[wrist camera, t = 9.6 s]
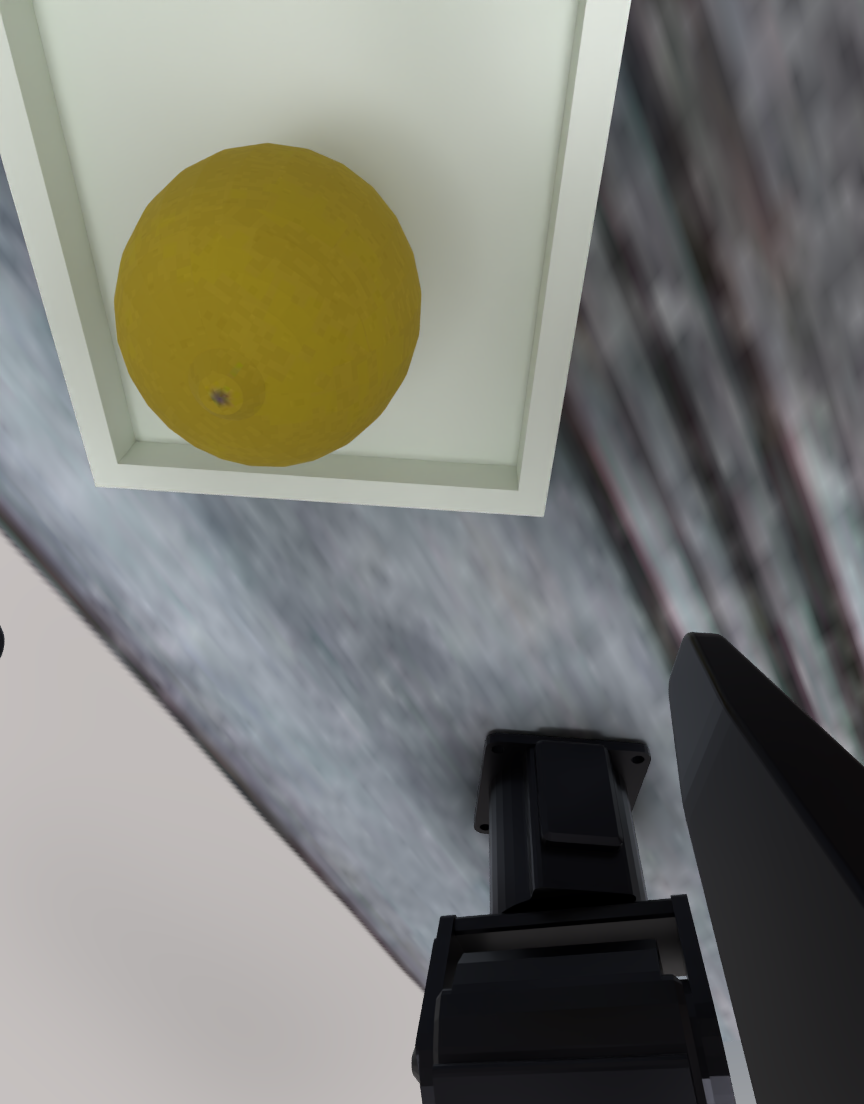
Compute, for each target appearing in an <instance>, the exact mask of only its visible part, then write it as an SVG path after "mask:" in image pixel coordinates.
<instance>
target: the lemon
mask: <svg viewBox="0 0 864 1104" xmlns="http://www.w3.org/2000/svg"><path fill="white" fill-rule="evenodd" d="M114 311H115V321H116V332H117V342H118V345H119V347H120V350H121V353H122V356H123V359H124V362H125V365H126V368H127V371H128V373H129V375H130V377H131V379H132V381H133V382H134V384H135V386H136V387H137V389H138V391H139V392H140V394H141V395H142V397H143V399H144V400H145V402H146V403H147V405H148V406H149V407H150V408H151V410H152V411H153V412H154V413H155V414H156V415H157V416H158V417H159V418H160V419H161V420H162V421H163V422H164V423H165V424H166V426H167V427H168V428H169V429H171V430H172V431H173V432H175V433H176V434H178V435H179V436H180V437H182V438H183V439H184V440H186V441H187V442H189V443H190V444H191V445H193V446H194V447H196V448H198V449H200V450H203V451H205V452H207V453H209V454H211V455H214V456H216V457H218V458H220V459H223V460H227V461H231V462H235V463H239V464H244V465H248V466H266V467H287V466H292V465H296V464H301V463H306V462H310V461H314V460H316V459H319V458H321V457H323V456H325V455H327V454H329V453H331V452H333V451H335V450H337V449H339V448H341V447H343V446H345V445H347V444H348V443H350V442H351V441H352V440H354V439H355V438H356V437H357V436H358V435H359V434H360V433H362V432H363V431H364V430H365V429H366V428H367V427H368V426H370V425H371V424H372V423H373V422H374V421H375V420H376V419H377V418H378V417H379V416H380V415H381V414H382V413H383V411H384V410H385V409H386V407H387V406H388V404H389V403H390V401H391V399H392V398H393V396H394V395H395V393H396V392H397V390H398V389H399V387H400V385H401V384H402V382H403V381H404V379H405V377H406V375H407V372H408V369H409V366H410V363H411V360H412V357H413V353H414V350H415V347H416V344H417V341H418V337H419V331H420V314H421V287H420V282H419V277H418V272H417V268H416V263H415V258H414V253H413V251H412V249H411V246H410V244H409V242H408V240H407V238H406V236H405V234H404V232H403V229H402V227H401V225H400V223H399V221H398V219H397V217H396V215H395V214H394V213H393V212H392V210H391V209H390V208H389V207H388V205H387V204H386V203H385V201H384V200H383V199H382V198H381V196H380V195H379V194H378V193H377V191H376V190H375V189H374V188H373V187H372V186H371V185H370V184H368V183H367V182H366V181H365V180H363V179H362V178H361V177H359V176H358V175H357V174H356V173H354V172H353V171H352V170H350V169H349V168H348V167H347V166H345V165H344V164H342V163H340V162H338V161H335V160H333V159H331V158H328V157H326V156H324V155H321V154H319V153H317V152H314V151H312V150H310V149H306V148H300V147H293V146H286V145H279V144H273V143H262V144H256V145H249V146H243V147H236V148H230V149H224V150H222V151H220V152H217V153H215V154H213V155H211V156H209V157H207V158H205V159H203V160H201V161H199V162H197V163H195V164H193V165H191V166H189V167H187V168H185V169H184V170H183V171H181V172H180V173H179V174H178V175H177V176H176V177H175V178H174V179H173V180H172V181H171V182H170V183H169V184H168V185H167V186H166V187H165V188H164V189H163V190H162V191H161V192H159V193H158V194H157V195H156V196H155V197H154V198H153V199H152V201H151V202H150V203H149V204H148V205H147V206H146V208H145V210H144V212H143V213H142V215H141V217H140V219H139V221H138V223H137V225H136V227H135V229H134V231H133V233H132V235H131V237H130V238H129V240H128V242H127V244H126V246H125V249H124V251H123V254H122V257H121V262H120V266H119V272H118V278H117V284H116V290H115V295H114Z"/></svg>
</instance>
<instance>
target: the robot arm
mask: <svg viewBox="0 0 864 1104" xmlns="http://www.w3.org/2000/svg"><path fill="white" fill-rule="evenodd" d="M3 648H4V634H3V631H2V628H1V626H0V657H1V655H2V652H3ZM669 702H670V710H671V718H672V725H673V733H674V741H675V749H676V757H677V765H678V773H679V781H680V789H681V795H682V802H683V808H684V812H685V817H686V821H687V826H688V830H689V834H690V838H691V842H692V846H693V850H694V854H695V858H696V862H697V866H698V870H699V874H700V878H701V882H702V886H703V890H704V894H705V898H706V902H707V906H708V910H709V914H710V918H711V922H712V926H713V930H714V934H715V938H716V942H717V946H718V950H719V954H720V958H721V962H722V966H723V970H724V974H725V978H726V982H727V986H728V990H729V994H730V998H731V1002H732V1006H733V1010H734V1014H735V1018H736V1022H737V1027H738V1031H739V1035H740V1039H741V1043H742V1046H743V1051H744V1054H745V1058H746V1063H747V1066H748V1071H749V1075H750V1079H751V1083H752V1087H753V1091H754V1095H755V1099H756V1103H757V1104H864V766H863V765H862V764H861V763H859V762H858V761H857V760H856V759H855V758H854V757H853V756H852V755H851V754H850V753H849V752H848V751H846V750H845V749H844V748H843V747H842V746H841V745H840V744H839V743H838V742H837V741H836V740H835V739H833V738H832V737H831V736H830V735H829V734H828V733H827V732H826V731H825V730H824V729H823V728H822V727H820V726H819V725H818V724H817V723H816V722H815V721H814V720H813V719H812V718H811V717H810V716H809V715H807V714H806V713H805V712H804V711H803V710H802V709H801V708H800V707H799V706H798V705H797V704H796V703H795V702H793V701H792V700H791V699H790V698H789V697H788V696H787V695H786V694H785V693H784V692H783V691H782V690H780V689H779V688H778V687H777V686H776V685H775V684H774V683H773V682H772V681H771V680H770V679H769V678H767V677H766V676H765V675H764V674H763V673H762V672H761V671H760V670H759V669H758V668H757V667H756V666H754V665H753V664H752V663H751V662H750V661H749V660H748V659H747V658H746V657H745V656H744V655H743V654H741V653H740V652H739V651H738V650H737V649H736V648H735V647H734V646H733V645H732V644H731V643H730V642H728V641H727V640H726V639H725V638H724V637H722V636H721V635H719V634H713V633H697V632H690V633H688V634H686V635H685V636H684V638H683V640H682V642H681V645H680V648H679V651H678V654H677V657H676V660H675V663H674V666H673V669H672V672H671V675H670V679H669ZM650 761H651V756H650V752H649V748H648V747H647V746H646V745H644V744H639V743H627V742H613V741H600V740H586V739H572V738H559V737H545V736H531V735H518V734H504V733H494V734H491V735H489V736H488V737H487V738H486V740H485V746H484V753H483V760H482V767H481V774H480V781H479V788H478V795H477V802H476V809H475V816H474V828H475V830H476V831H478V832H480V833H484V834H489V862H490V914H489V915H478V916H466V917H457V916H456V915H447V916H441V917H440V921H439V927H438V932H437V938H435V939H434V943H433V948H432V954H431V959H430V965H429V970H428V976H427V982H426V987H425V993H424V998H423V1004H422V1010H421V1015H420V1021H419V1026H418V1032H417V1037H416V1044H415V1049H414V1052H413V1055H412V1072H413V1075H414V1077H415V1078H416V1079H417V1080H418V1082H419V1083H420V1089H421V1096H422V1104H736V1102H735V1097H734V1092H733V1088H732V1083H731V1078H730V1073H729V1069H728V1064H727V1060H726V1055H725V1051H724V1047H723V1042H722V1038H721V1033H720V1029H719V1025H718V1020H717V1016H716V1012H715V1008H714V1004H713V1000H712V996H711V992H710V987H709V983H708V979H707V975H706V971H705V967H704V963H703V959H702V955H701V951H700V947H699V943H698V939H697V935H696V931H695V927H694V923H693V918H692V914H691V910H690V906H689V902H688V898H687V894H682V895H671V898H670V899H659V900H648V898H647V893H646V888H645V882H644V877H643V872H642V866H641V861H640V856H639V850H638V845H637V840H636V834H635V829H634V824H633V818H632V813H631V812H632V809H633V806H634V804H635V801H636V798H637V796H638V793H639V791H640V788H641V785H642V783H643V780H644V777H645V775H646V772H647V769H648V767H649V764H650ZM675 976H687V979H683V980H679V979H678V978H677V977H675Z"/></svg>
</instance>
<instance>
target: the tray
mask: <svg viewBox="0 0 864 1104" xmlns="http://www.w3.org/2000/svg"><path fill="white" fill-rule="evenodd" d="M630 5H631V0H0V155H1V158H2V162H3V165H4V169H5V172H6V176H7V179H8V183H9V186H10V190H11V193H12V197H13V200H14V204H15V207H16V211H17V214H18V217H19V221H20V224H21V228H22V231H23V235H24V238H25V242H26V245H27V249H28V252H29V256H30V259H31V263H32V266H33V270H34V273H35V277H36V280H37V284H38V287H39V291H40V294H41V298H42V301H43V305H44V308H45V312H46V315H47V318H48V322H49V325H50V329H51V332H52V336H53V339H54V343H55V346H56V350H57V353H58V357H59V360H60V364H61V367H62V371H63V374H64V378H65V381H66V385H67V388H68V392H69V395H70V399H71V402H72V406H73V409H74V413H75V416H76V420H77V423H78V426H79V430H80V433H81V437H82V440H83V444H84V447H85V451H86V454H87V458H88V461H89V465H90V468H91V472H92V475H93V479H94V482H95V486H96V487H108V488H123V489H138V490H152V491H167V492H182V493H197V494H211V495H226V496H241V497H256V498H270V499H285V500H300V501H315V502H329V503H344V504H359V505H374V506H388V507H403V508H418V509H432V510H447V511H462V512H477V513H491V514H506V515H521V516H536V517H544V512H545V506H546V500H547V494H548V488H549V483H550V477H551V471H552V465H553V459H554V453H555V447H556V441H557V435H558V429H559V424H560V418H561V412H562V406H563V400H564V394H565V388H566V382H567V376H568V370H569V365H570V359H571V353H572V347H573V341H574V335H575V329H576V323H577V317H578V311H579V306H580V300H581V294H582V288H583V282H584V276H585V270H586V264H587V258H588V252H589V247H590V241H591V235H592V229H593V223H594V217H595V211H596V205H597V199H598V193H599V187H600V182H601V176H602V170H603V164H604V158H605V152H606V146H607V140H608V134H609V128H610V123H611V117H612V111H613V105H614V99H615V93H616V87H617V81H618V75H619V69H620V64H621V58H622V52H623V46H624V40H625V34H626V28H627V22H628V16H629V10H630ZM262 143H273V144H279V145H286V146H293V147H300V148H306V149H310V150H312V151H314V152H317V153H319V154H321V155H324V156H326V157H328V158H331V159H333V160H335V161H338V162H340V163H342V164H344V165H345V166H347V167H348V168H349V169H350V170H352V171H353V172H354V173H356V174H357V175H358V176H359V177H361V178H362V179H363V180H365V181H366V182H367V183H368V184H370V185H371V186H372V187H373V188H374V189H375V190H376V191H377V193H378V194H379V195H380V196H381V198H382V199H383V200H384V201H385V203H386V204H387V205H388V207H389V208H390V209H391V210H392V212H393V213H394V214H395V215H396V217H397V219H398V221H399V223H400V225H401V227H402V229H403V232H404V234H405V236H406V238H407V240H408V242H409V244H410V246H411V249H412V251H413V253H414V258H415V263H416V268H417V272H418V277H419V282H420V287H421V314H420V331H419V337H418V341H417V344H416V347H415V350H414V353H413V357H412V360H411V363H410V366H409V369H408V372H407V375H406V377H405V379H404V381H403V382H402V384H401V385H400V387H399V389H398V390H397V392H396V393H395V395H394V396H393V398H392V399H391V401H390V403H389V404H388V406H387V407H386V409H385V410H384V411H383V413H382V414H381V415H380V416H379V417H378V418H377V419H376V420H375V421H374V422H373V423H372V424H371V425H370V426H368V427H367V428H366V429H365V430H364V431H363V432H362V433H360V434H359V435H358V436H357V437H356V438H355V439H354V440H352V441H351V442H350V443H348V444H347V445H345V446H343V447H341V448H339V449H337V450H335V451H333V452H331V453H329V454H327V455H325V456H323V457H321V458H319V459H316V460H314V461H310V462H306V463H301V464H296V465H292V466H287V467H266V466H248V465H244V464H239V463H235V462H231V461H227V460H223V459H220V458H218V457H216V456H214V455H211V454H209V453H207V452H205V451H203V450H200V449H198V448H196V447H194V446H193V445H191V444H190V443H189V442H187V441H186V440H184V439H183V438H182V437H180V436H179V435H178V434H176V433H175V432H173V431H172V430H171V429H169V428H168V427H167V426H166V424H165V423H164V422H163V421H162V420H161V419H160V418H159V417H158V416H157V415H156V414H155V413H154V412H153V411H152V410H151V408H150V407H149V406H148V405H147V403H146V402H145V400H144V399H143V397H142V395H141V394H140V392H139V391H138V389H137V387H136V386H135V384H134V382H133V381H132V379H131V377H130V375H129V373H128V371H127V368H126V365H125V362H124V359H123V356H122V353H121V350H120V347H119V345H118V342H117V332H116V321H115V311H114V295H115V290H116V284H117V278H118V272H119V266H120V262H121V257H122V254H123V251H124V249H125V246H126V244H127V242H128V240H129V238H130V237H131V235H132V233H133V231H134V229H135V227H136V225H137V223H138V221H139V219H140V217H141V215H142V213H143V212H144V210H145V208H146V206H147V205H148V204H149V203H150V202H151V201H152V199H153V198H154V197H155V196H156V195H157V194H158V193H159V192H161V191H162V190H163V189H164V188H165V187H166V186H167V185H168V184H169V183H170V182H171V181H172V180H173V179H174V178H175V177H176V176H177V175H178V174H179V173H180V172H181V171H183V170H184V169H185V168H187V167H189V166H191V165H193V164H195V163H197V162H199V161H201V160H203V159H205V158H207V157H209V156H211V155H213V154H215V153H217V152H220V151H222V150H224V149H230V148H236V147H243V146H249V145H256V144H262Z"/></svg>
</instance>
